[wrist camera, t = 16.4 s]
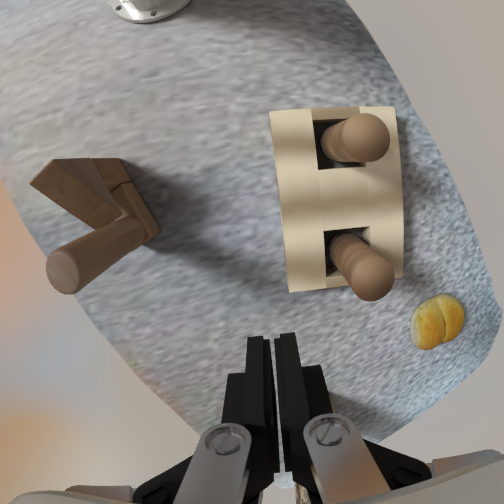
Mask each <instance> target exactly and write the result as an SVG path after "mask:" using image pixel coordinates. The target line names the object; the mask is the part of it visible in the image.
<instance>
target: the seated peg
mask: <svg viewBox="0 0 504 504" xmlns="http://www.w3.org/2000/svg"><path fill="white" fill-rule="evenodd" d="M389 145H390V134H389V131H388V128H387V126H386V125H385V123H384V122H383V121H382V120H381V119H380V118H378V117H377V116H375V115H373V114H369V113H361V114H357V115H355V116H353V117H351V118H348V119H346V120H344V121H342V122H340V123H338V124H334V125H332V126H330V127H328V128H327V129H326V130H325V131H324V132H323V134H322V136H321V139H320V147H321V150H322V152H323V154H324V155H325V156H326V157H327V158H328V159H330V160H332V161H334V162H338V163H345V162H374V161H377V160H379V159H381V158H382V157H383V156H384V155H385V154H386V153H387V151H388V149H389Z"/></svg>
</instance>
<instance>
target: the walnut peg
mask: <svg viewBox="0 0 504 504" xmlns="http://www.w3.org/2000/svg"><path fill="white" fill-rule="evenodd" d="M328 247H329V256H330V258H331V261H332V263H333V264H334V265H335V266H336V267H337V268H338V270H339V271H340V272H341V274H342V275H343V277H344V278H345V279H346V281H347V282H348V284H349V285H350V287H351V288H352V290H353V291H354V292H355V294H356V295H357V296H358V297H359V298H360V299H362V300H365V301H376V300H379V299H381V298H383V297H384V296H385V295H387V293H388V292H389V291H390V290H391V288H392V286H393V283H394V278H395V276H394V270H393V268H392V266H391V264H390V263H389V262H388V261H386V260H385V259H384V258H383V257H382V256H380V255H379V254H378V253H377V252H375V251H374V250H373V249H372V248H371V247H369V246H368V245H367V244H366V243H364V242H363V240H362V239H361V238H360V237H358V236H357V235H354V234H352V233H349V232H338V233H336V234H334V235H333V236H332V237H331V238H330V240H329V244H328Z"/></svg>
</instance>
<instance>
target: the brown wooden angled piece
mask: <svg viewBox="0 0 504 504" xmlns="http://www.w3.org/2000/svg"><path fill="white" fill-rule="evenodd" d="M130 181H131V179H130V177H129V175H128V174H127V172H126V170H125V168H124V166H123V165H122V163H121V161H120V159H118V158H92V159H91V158H73V159H53V160H51V161H50V162H49V163H48V164H47V165H46V166H45V167H44V168H43V169H42V170H41V171H40V172H39V173H38V174H37V175H36V176H35V177H34V178H33V179H32V180H31V181H30V183H29V184H30V185H31V186H33V187H34V188H35V189H37V190H38V191H40V192H41V193H42V194H44V195H45V196H47V197H48V198H49V199H51V200H52V201H54V202H55V203H57V204H58V205H59V206H61V207H62V208H64V209H65V210H67V211H68V212H69V213H71V214H72V215H74V216H75V217H77V218H78V219H80V220H81V221H83V222H84V223H86V224H87V225H89V226H90V227H92V228H93V229H95V231H93V232H91V233H89V234H87V235H85V236H83V237H80V238H78V239H76V240H74V241H72V242H70V243H68V244H66V245H64V246H62V247H60V248H58V249H56V250H54V251H53V252H52V253H51V254H50V255H49V257H48V259H47V262H46V272H47V277H48V279H49V281H50V283H51V284H52V286H53V287H54V288H55V289H56V290H57V291H59V292H61V293H63V294H74V293H77V292H78V291H80V290H81V289H82V288H83V287H85V286H86V285H87V284H88V283H90V282H91V281H92V280H94V279H95V278H96V277H97V276H99V275H100V274H101V273H103V272H104V271H105V270H107V269H108V268H109V267H110V266H112V265H113V264H114V263H116V262H117V261H118V260H120V259H121V258H122V257H124V256H125V255H126V254H128V253H129V252H130V251H133V250H135V249H137V248H138V247H140V246H141V245H143V244H144V243H146V242H147V241H149V240H151V239H152V238H153V237H155V236H156V235H157V234H159V233H160V232H161V230H160V228H159V226H158V225H157V223H156V221H155V220H154V218H153V216H152V215H151V213H150V211H149V210H148V208H147V206H146V205H145V203H144V201H143V200H142V198H141V196H140V194H139V193H138V191H137V189H136V188H135V186H134V184H133V183H132V182H130Z"/></svg>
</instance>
